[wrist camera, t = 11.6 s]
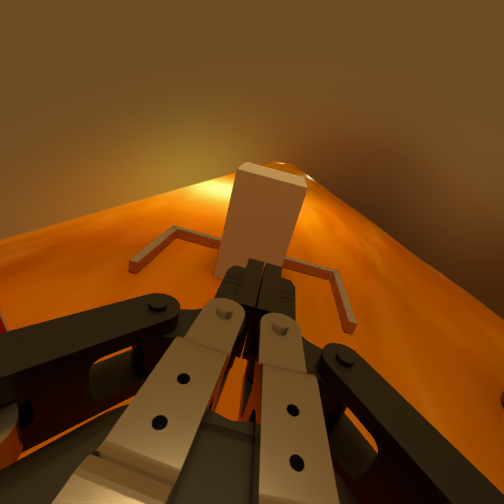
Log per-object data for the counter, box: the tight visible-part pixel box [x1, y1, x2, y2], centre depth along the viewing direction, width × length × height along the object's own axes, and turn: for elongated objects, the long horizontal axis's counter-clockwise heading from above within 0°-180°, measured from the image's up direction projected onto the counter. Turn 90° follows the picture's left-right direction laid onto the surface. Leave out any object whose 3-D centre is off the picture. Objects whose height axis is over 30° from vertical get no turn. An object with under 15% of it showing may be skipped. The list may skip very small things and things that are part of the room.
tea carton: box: [214, 162, 307, 280], centre depth 37 cm, size 8×8×14 cm
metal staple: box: [128, 225, 357, 334], centre depth 39 cm, size 27×14×2 cm, turn 83°
